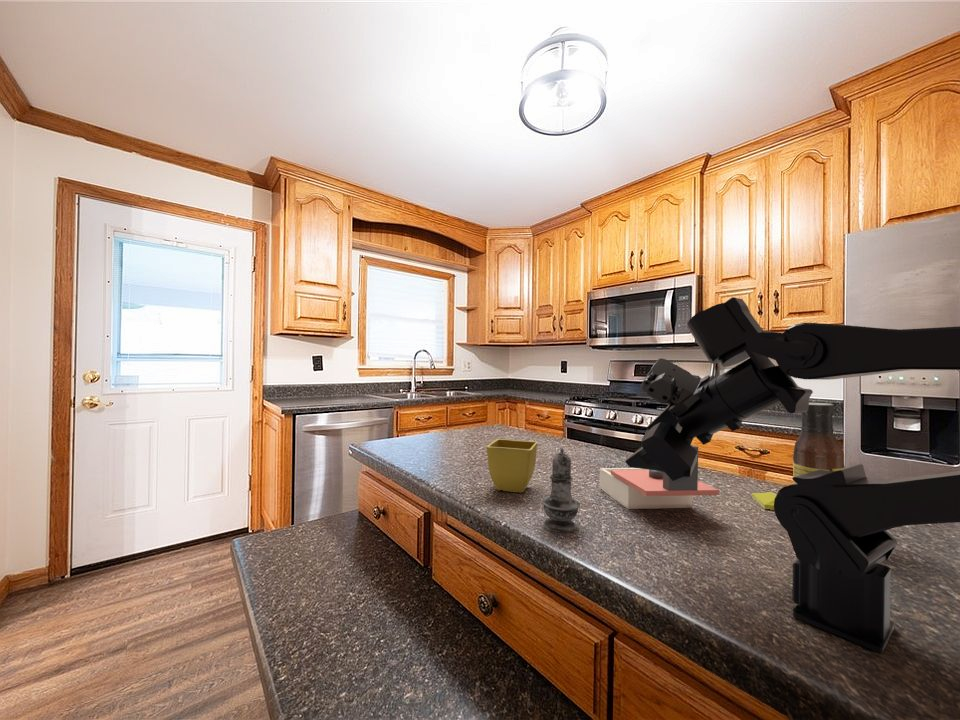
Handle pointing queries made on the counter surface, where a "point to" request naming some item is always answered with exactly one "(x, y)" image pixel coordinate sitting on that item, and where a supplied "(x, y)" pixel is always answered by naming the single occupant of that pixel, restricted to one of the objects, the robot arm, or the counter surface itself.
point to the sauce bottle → (817, 442)
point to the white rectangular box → (638, 493)
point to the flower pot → (511, 463)
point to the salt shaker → (561, 497)
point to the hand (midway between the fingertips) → (638, 446)
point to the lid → (664, 482)
